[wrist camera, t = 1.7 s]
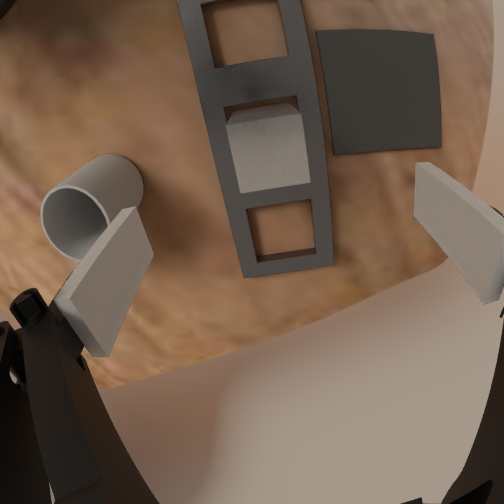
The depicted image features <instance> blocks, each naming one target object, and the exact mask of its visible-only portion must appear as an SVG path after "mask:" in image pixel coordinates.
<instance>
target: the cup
mask: <svg viewBox="0 0 504 504" xmlns="http://www.w3.org/2000/svg"><path fill="white" fill-rule="evenodd" d="M143 190H144V186H143V181H142V177H141V175H140V173H139V171H138V169H137V168H136V167H135V166H134V164H133V163H132V162H130V161H129V160H128V159H126V158H124V157H122V156H120V155H116V154H105V155H101V156H99V157H97V158H95V159H93V160H91V161H90V162H88V163H87V164H86V165H84V166H83V167H81V168H80V169H78V170H77V171H76V172H74V173H73V174H71V175H70V176H69V177H67V178H66V179H65V180H63V181H62V182H61V183H59V184H58V185H57V186H55V187H54V188H53V189H51V190H50V191H49V192H48V194H47V195H46V196H45V197H44V200H43V202H42V204H41V212H40V216H41V224H42V227H43V230H44V233H45V235H46V236H47V238H48V240H49V241H50V243H51V244H52V245H53V246H54V247H55V249H56V250H58V251H59V252H60V253H61V254H63V255H64V256H66V257H68V258H70V259H72V260H75V261H76V262H77V263H78V264H79V263H80V262H81V260H82V259H83V258H84V256H85V255H86V254H87V252H88V251H89V250H90V249H91V247H92V246H93V245H94V243H95V242H96V241H97V240H98V238H99V237H100V236H101V235H102V233H103V232H104V231H105V230H106V228H107V227H108V226H109V225H110V223H111V222H112V221H113V220H114V219H115V217H116V216H117V215H118V214H119V213H120V211H121V210H122V209H126V208H130V207H134V206H136V208H138V207H139V205H140V203H141V200H142V197H143Z"/></svg>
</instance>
